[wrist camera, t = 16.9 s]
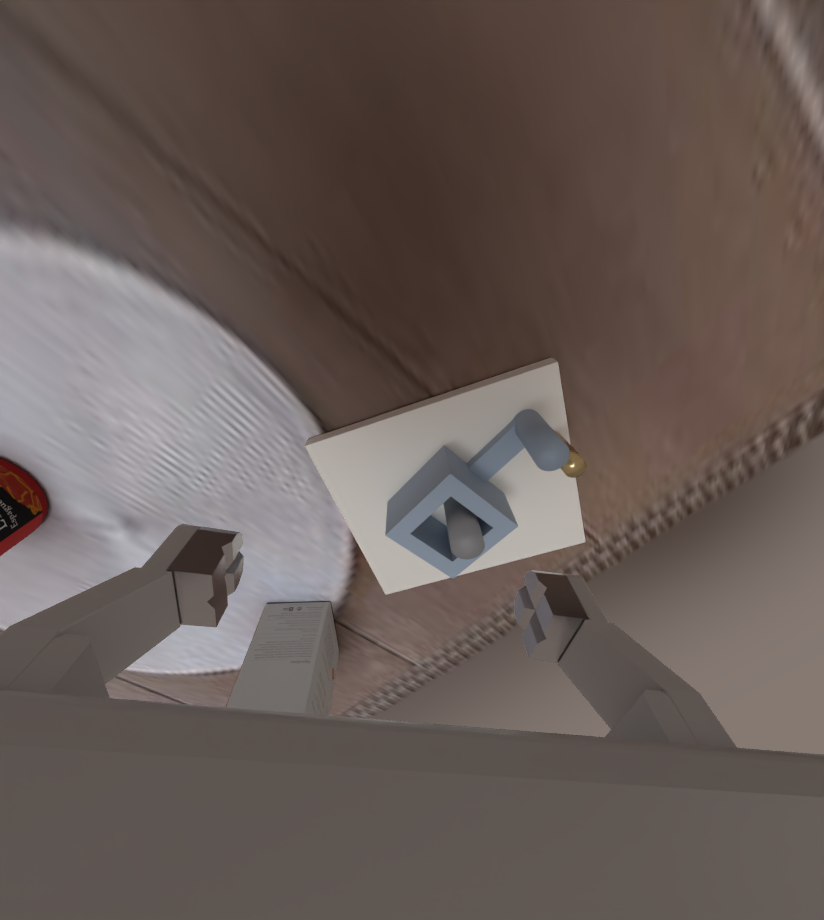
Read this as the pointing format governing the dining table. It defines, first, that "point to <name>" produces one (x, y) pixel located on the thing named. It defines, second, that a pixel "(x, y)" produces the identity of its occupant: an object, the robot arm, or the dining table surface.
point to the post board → (464, 433)
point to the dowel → (573, 461)
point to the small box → (289, 661)
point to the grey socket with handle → (468, 491)
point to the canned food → (18, 505)
